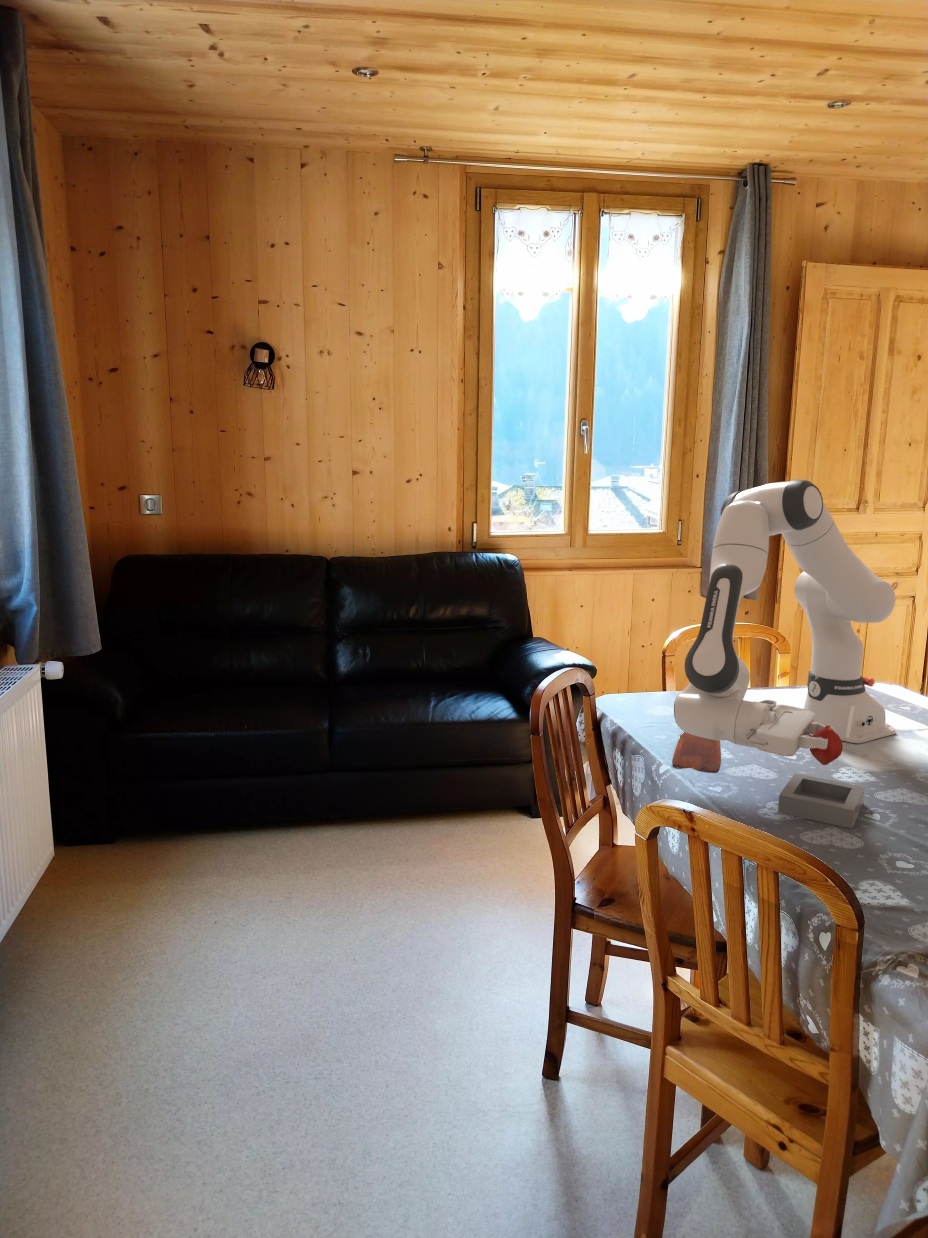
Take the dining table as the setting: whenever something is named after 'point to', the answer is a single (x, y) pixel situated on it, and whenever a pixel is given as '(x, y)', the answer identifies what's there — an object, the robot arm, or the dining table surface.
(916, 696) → the dining table surface
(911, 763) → the dining table surface
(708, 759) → the wooden tablet
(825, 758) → the red round fruit
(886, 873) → the dining table surface
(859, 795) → the holder
